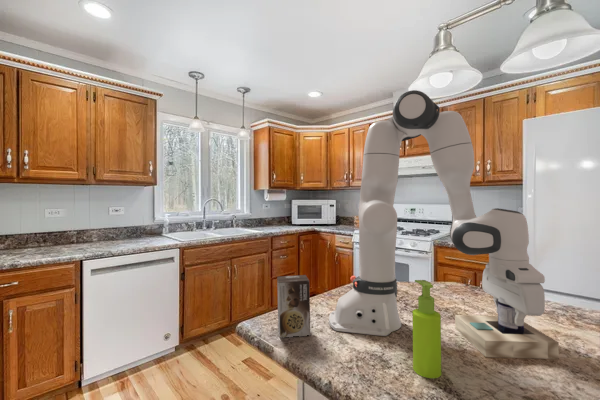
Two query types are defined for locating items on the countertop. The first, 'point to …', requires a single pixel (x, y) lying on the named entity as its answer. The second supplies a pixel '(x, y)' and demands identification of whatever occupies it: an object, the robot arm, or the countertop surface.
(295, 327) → the grey cardboard box
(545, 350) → the socket board
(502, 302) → the beverage can
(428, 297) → the soap dispenser
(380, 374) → the countertop surface
